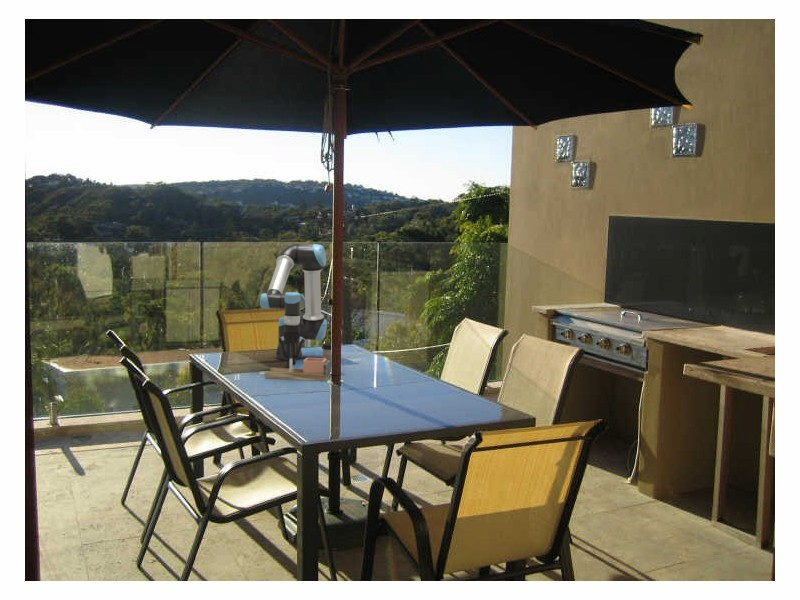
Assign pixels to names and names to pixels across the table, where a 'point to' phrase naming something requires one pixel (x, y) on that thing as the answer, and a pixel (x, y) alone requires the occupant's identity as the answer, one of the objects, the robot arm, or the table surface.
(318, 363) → the box
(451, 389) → the table surface
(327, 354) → the coffee cup
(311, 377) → the bay
